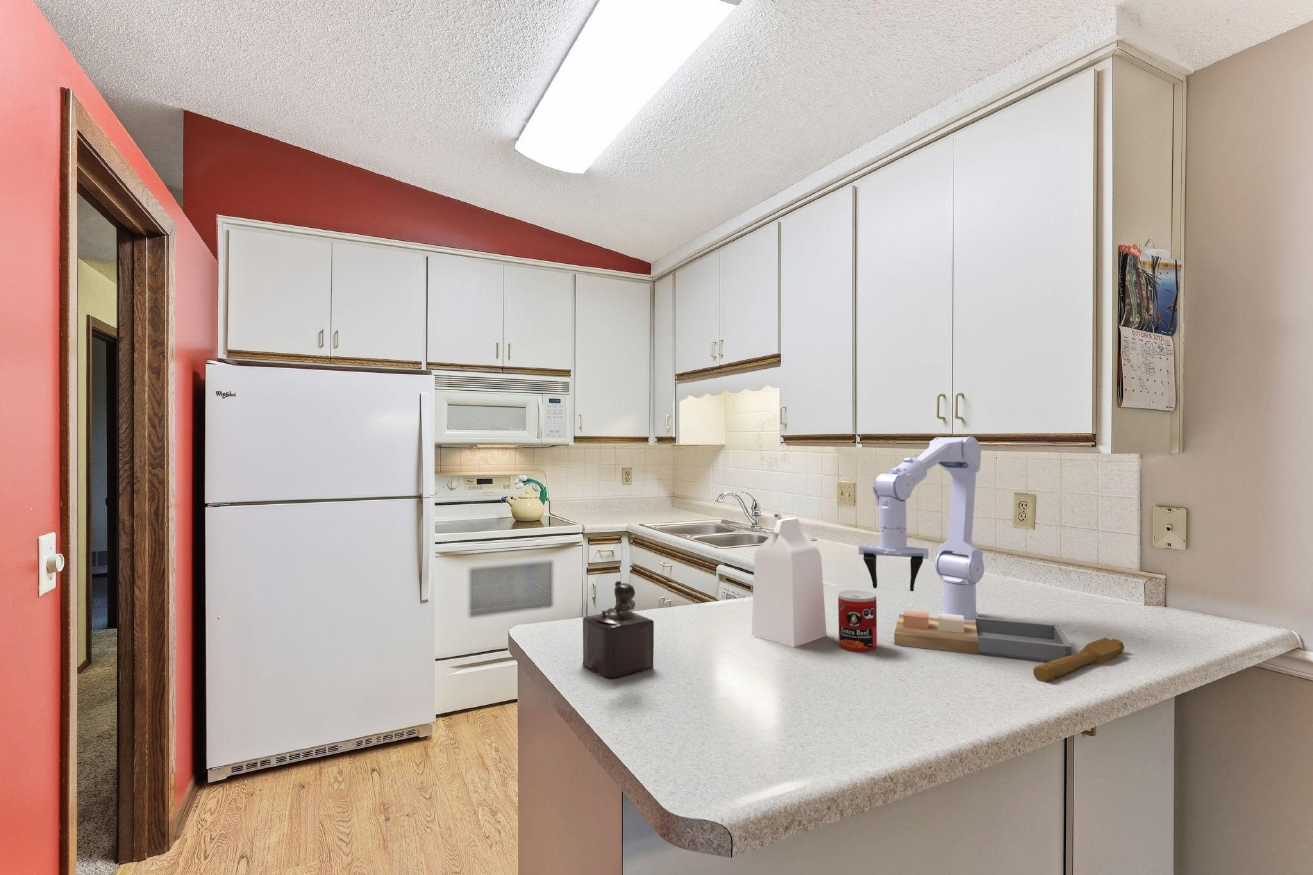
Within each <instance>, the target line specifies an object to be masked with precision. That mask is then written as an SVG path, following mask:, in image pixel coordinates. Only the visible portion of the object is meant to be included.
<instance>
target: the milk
mask: <svg viewBox="0 0 1313 875" xmlns="http://www.w3.org/2000/svg"><path fill="white" fill-rule="evenodd" d="M753 561H754V564H753V585H752V586H753V590H752V592H753V593H752V618H751V620H752V621H751V636H752V635H756V636H760V637H763V638H767V639H769V640H773V641H775V642H774V643H776V642H779V643H778V644H780V643H781V644H780V645H783V644H784V646H787V645H788V646H787V647H791V648H796V647H799V646H802V645H804V644H807V643H811V642H813V641H816V640H819V639H821V638H824V637H827V633H828V632H827V620H826V608H825V607H826V606H825V605H826V604H825V593H824V582H823V581H824V580H823V579H824V578H823V566H822V565H823V563H822V556H821V551H820V550H819V548H818V547H817V546H816V544H814V542H812V540H811V539H810V538H809V537H808V536H807V535H806V534H805V532H803V531H802V530H801V524H800V521H799V518H798V517H791V518H784V519H777V520H776V523H775V526H774V530H773V533H772V534H771V535H770V536H769V537H767V539H766V540H765V541H764V542H763V543H762V544H761V545H760V546H759V547H758V548H757V549H756V551H755V553H754V560H753ZM769 640H768V641H769ZM773 641H772V642H773Z"/></svg>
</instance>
